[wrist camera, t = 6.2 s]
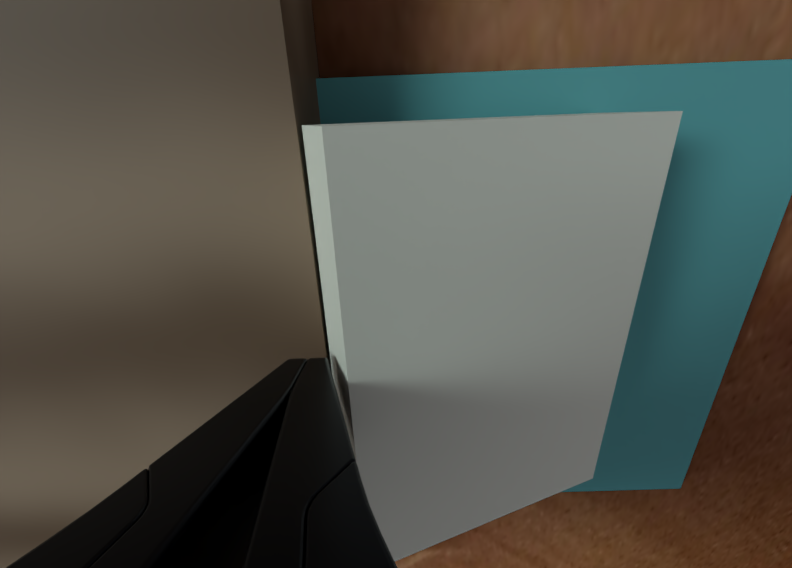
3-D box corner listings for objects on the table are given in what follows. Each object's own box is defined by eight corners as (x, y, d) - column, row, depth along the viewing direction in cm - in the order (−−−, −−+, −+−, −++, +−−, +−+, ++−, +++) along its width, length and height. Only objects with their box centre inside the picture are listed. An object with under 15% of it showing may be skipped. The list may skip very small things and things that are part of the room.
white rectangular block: (546, 431, 13) (592, 478, 11) (347, 501, 11) (367, 572, 9) (599, 113, 9) (682, 110, 7) (301, 125, 7) (321, 126, 5)
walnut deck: (365, 520, 16) (358, 606, 13) (27, 530, 16) (-50, 617, 13) (295, -146, 8) (241, -293, 5) (-391, -115, 8) (-818, -240, 5)
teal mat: (671, 477, 15) (680, 488, 14) (361, 486, 15) (360, 498, 14) (820, 59, 9) (843, 56, 9) (319, 80, 9) (315, 78, 9)
